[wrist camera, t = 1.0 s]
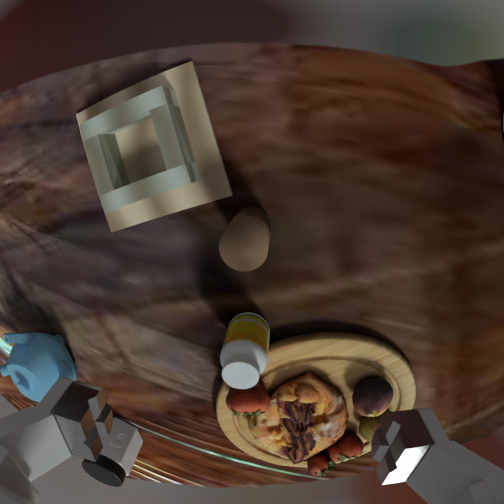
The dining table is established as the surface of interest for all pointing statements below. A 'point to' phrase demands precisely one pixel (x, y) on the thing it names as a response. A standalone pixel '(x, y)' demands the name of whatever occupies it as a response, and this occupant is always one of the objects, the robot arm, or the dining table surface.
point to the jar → (115, 454)
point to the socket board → (153, 149)
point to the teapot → (37, 362)
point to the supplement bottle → (245, 350)
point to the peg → (246, 240)
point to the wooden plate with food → (317, 400)
